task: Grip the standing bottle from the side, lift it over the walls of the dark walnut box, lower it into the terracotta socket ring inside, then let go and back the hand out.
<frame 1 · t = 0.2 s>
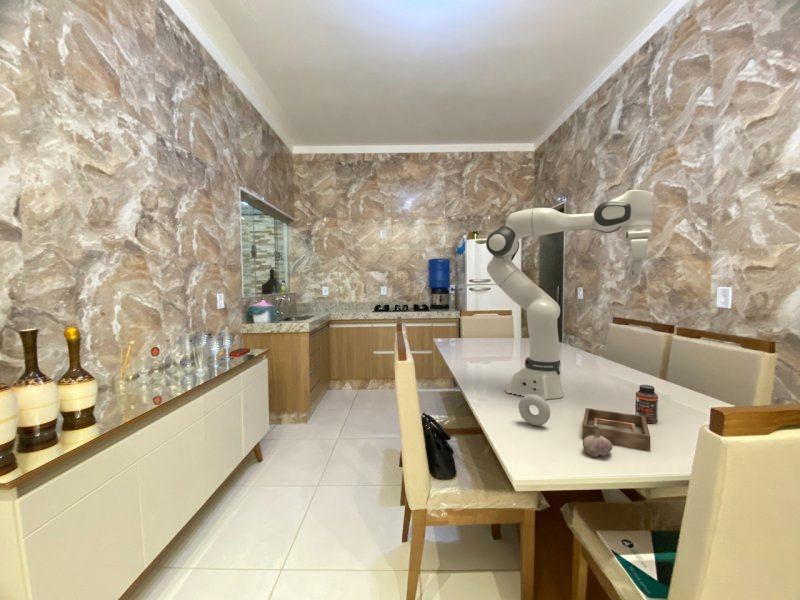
hand: (635, 274, 124), 47 cm above the table, tool pointing down, fingers open, 8 cm apart
supplement bottle: (646, 421, 113), on the table
donut: (534, 425, 111), on the table
walled box: (614, 433, 103), on the table
garlic bulb: (597, 454, 92), on the table
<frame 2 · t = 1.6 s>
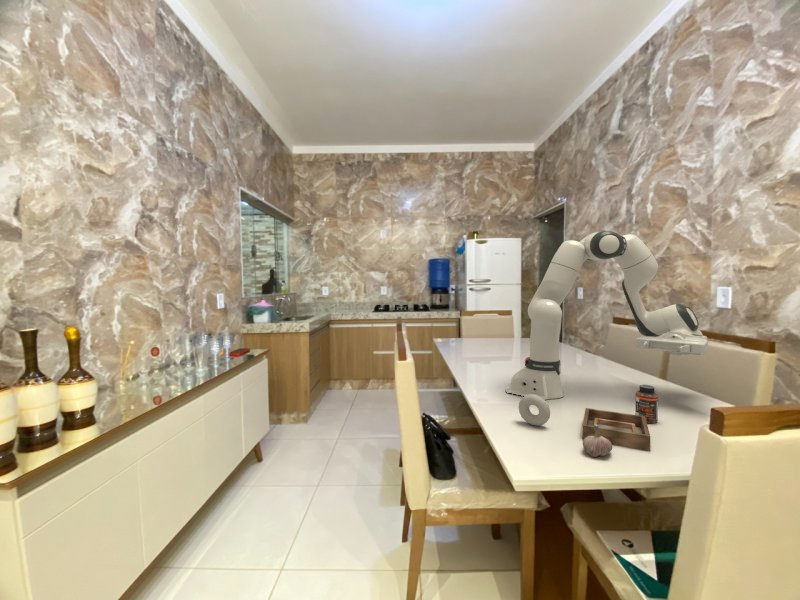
hand: (661, 347, 118), 22 cm above the table, tool horizontal, fingers open, 8 cm apart
nothing on the table moved.
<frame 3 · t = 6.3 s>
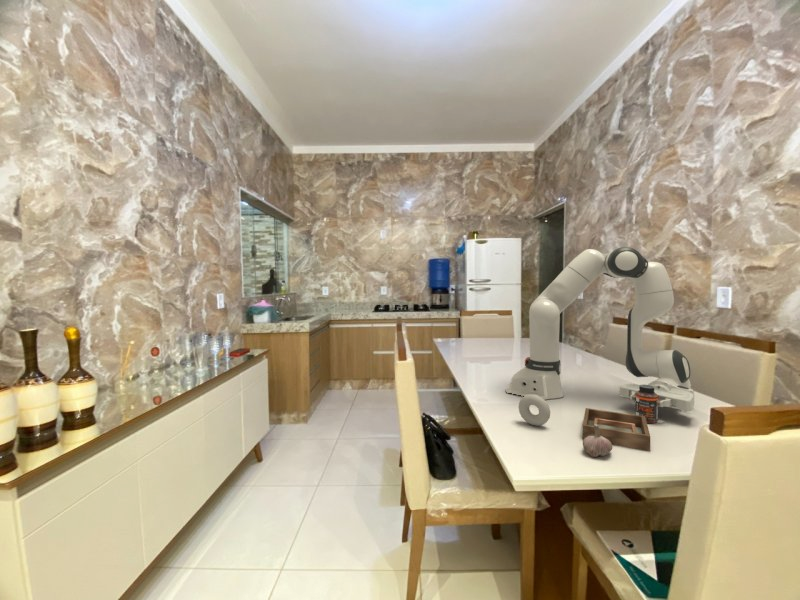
hand: (645, 401, 112), 7 cm above the table, tool horizontal, fingers closed on supplement bottle, 6 cm apart
supplement bottle: (646, 421, 112), on the table, touching gripper
everything else where it was.
when the fingers open (9 cm above the table, at t = 11.6 s): supplement bottle drops 1 cm, resting on walled box.
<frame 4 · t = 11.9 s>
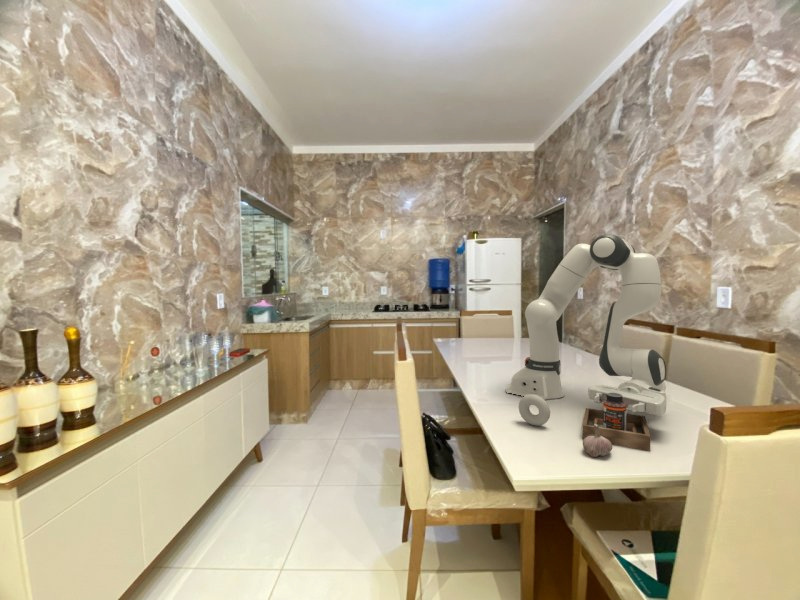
hand: (613, 404, 103), 9 cm above the table, tool horizontal, fingers open, 8 cm apart
supplement bottle: (614, 432, 103), resting on walled box
everything else where it was.
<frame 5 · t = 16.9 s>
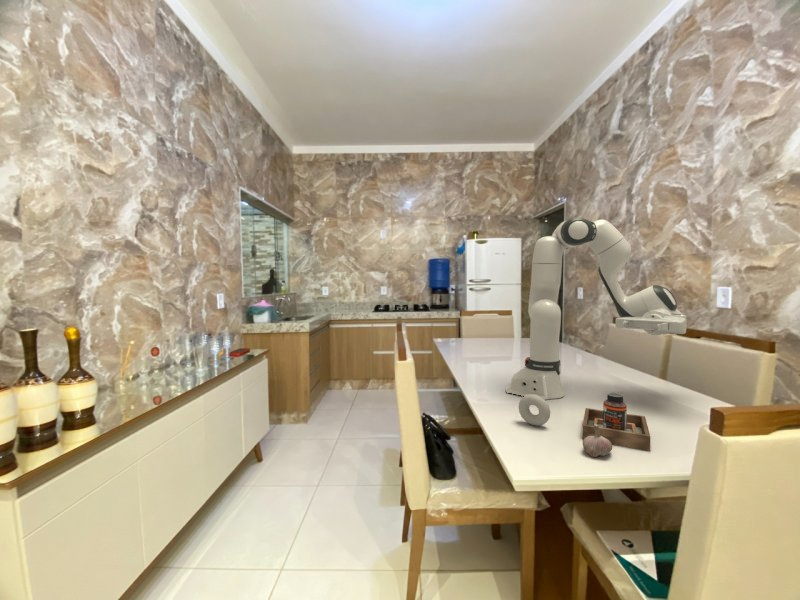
hand: (640, 326, 117), 30 cm above the table, tool horizontal, fingers open, 8 cm apart
nothing on the table moved.
at the end: supplement bottle 0.1 cm off-centre on the walled box, point 0.4 cm above the walled box's base; supplement bottle tilted 0°; the gripper is holding nothing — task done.
